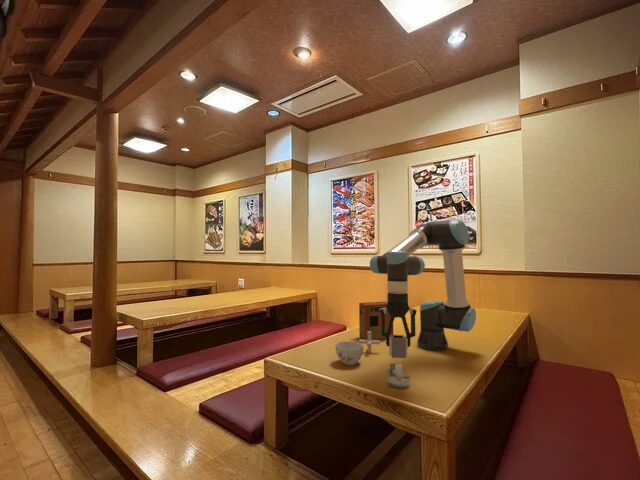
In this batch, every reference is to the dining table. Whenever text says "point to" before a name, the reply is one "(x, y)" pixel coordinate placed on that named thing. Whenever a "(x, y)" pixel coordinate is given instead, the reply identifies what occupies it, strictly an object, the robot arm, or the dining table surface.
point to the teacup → (349, 352)
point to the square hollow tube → (398, 346)
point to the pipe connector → (369, 341)
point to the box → (372, 320)
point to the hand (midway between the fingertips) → (398, 354)
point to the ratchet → (398, 377)
